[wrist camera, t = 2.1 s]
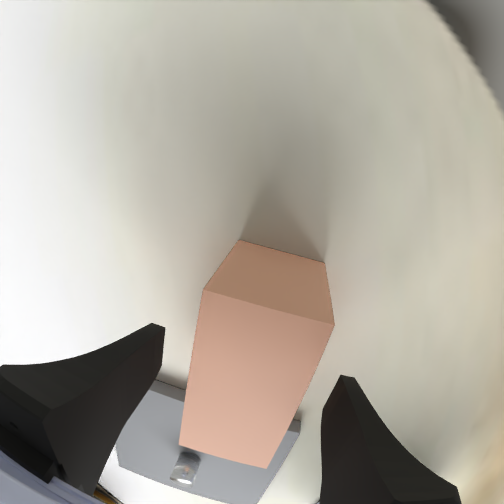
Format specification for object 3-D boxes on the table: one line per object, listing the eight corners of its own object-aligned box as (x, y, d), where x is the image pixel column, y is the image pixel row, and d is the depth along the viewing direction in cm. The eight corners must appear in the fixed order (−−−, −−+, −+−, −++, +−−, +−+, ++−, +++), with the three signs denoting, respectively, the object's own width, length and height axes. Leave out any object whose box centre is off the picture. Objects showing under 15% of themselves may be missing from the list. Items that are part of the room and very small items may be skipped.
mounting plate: (300, 421, 17) (300, 432, 16) (255, 500, 21) (253, 509, 20) (116, 363, 18) (108, 372, 17) (123, 458, 22) (119, 465, 21)
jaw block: (324, 262, 14) (334, 325, 9) (278, 391, 17) (266, 468, 12) (238, 239, 15) (202, 289, 9) (209, 372, 17) (178, 444, 12)
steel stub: (202, 456, 18) (193, 480, 16) (199, 466, 19) (191, 489, 17) (180, 449, 19) (170, 472, 17) (178, 460, 19) (169, 482, 17)
